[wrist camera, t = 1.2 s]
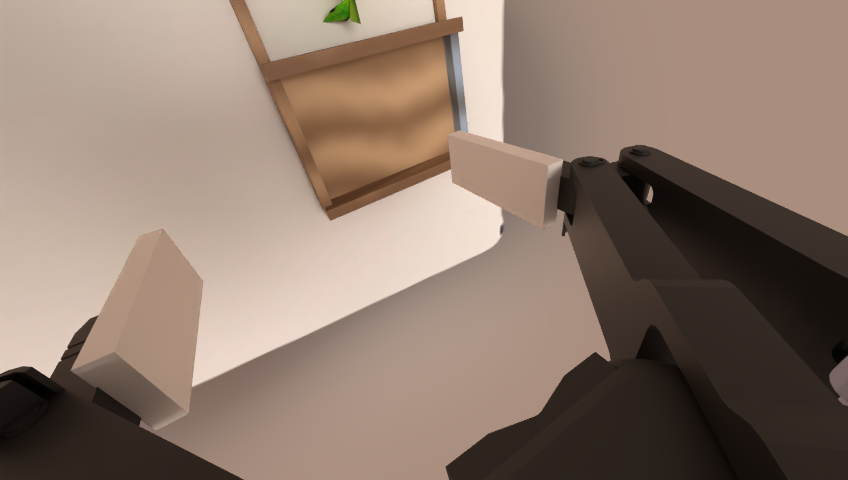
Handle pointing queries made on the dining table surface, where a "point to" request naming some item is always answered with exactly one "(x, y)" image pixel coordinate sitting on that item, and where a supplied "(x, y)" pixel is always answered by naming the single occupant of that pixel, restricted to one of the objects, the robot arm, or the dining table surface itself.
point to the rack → (369, 109)
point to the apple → (344, 12)
